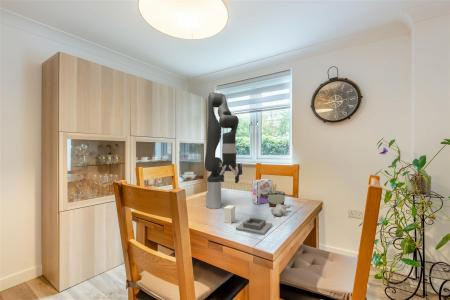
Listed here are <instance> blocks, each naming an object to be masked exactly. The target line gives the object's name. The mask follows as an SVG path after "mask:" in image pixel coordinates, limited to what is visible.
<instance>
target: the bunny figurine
mask: <svg viewBox="0 0 450 300" xmlns="http://www.w3.org/2000/svg"><path fill="white" fill-rule="evenodd" d="M290 208H291V206H290V204H287V205H285V204H284V205H281V204H277V205H276V207H274V208H270V212H271V213H272V215H273V216H275V217H282V215H283V216H284V215H287V214H288V210H287V209H290Z"/></svg>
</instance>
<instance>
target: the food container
mask: <svg viewBox="0 0 450 300" xmlns="http://www.w3.org/2000/svg"><path fill="white" fill-rule="evenodd" d="M267 195H268V201H269V203H268V207H269V208H270V209H271V208H274V207H276V205H277V204H281V205H285V198H286V196H287V195H286V192H285V191H281V190H272V191H269V192H268V193H267Z"/></svg>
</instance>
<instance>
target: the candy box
mask: <svg viewBox="0 0 450 300" xmlns="http://www.w3.org/2000/svg"><path fill="white" fill-rule="evenodd" d="M269 191H273V179H269V178H262V179H253V180H252V203H253V204H254V205H257V206H258V205H264V204H269V201H268V195H267V193H268V192H269Z"/></svg>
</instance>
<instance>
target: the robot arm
mask: <svg viewBox="0 0 450 300" xmlns="http://www.w3.org/2000/svg"><path fill="white" fill-rule="evenodd" d="M207 97H208V98H207V130H206V131H207V132H206V135H207V136H206V138H207V139H206V150H205V152H206V153H205V158H204V167H205V170H206V172H209V173H210V174H209V175H208V176H207V178H206V179H207V180H206V181H207V183H206V184H207V185H206V186H207V191H206V193H205V196H206V197H205V199H206V200H205V201H206V204H205V205H206V208H208V209H210V210H211V209H212V210H215V209H220V208H222V183H224V182H225V172H232V173H233V174H234V175H235V177H234V183H235V184H238V183H239V182H240V176H241V175H243V163H241V162H240V163H237V147H236V135H237V130H238V127H239V117H238V116H237V115H236V114H235V115H234V114H232V112H231V110H230V109H229V107H228V101H227V97H226V96H225V94H224V93H220V92H210V93H208V96H207ZM214 108H216V109H217V114H218V115H217V116H218V117H219V118H217V116H216V114H215V109H214ZM222 129H230V131H228V132H225V133H223V134H222ZM221 139H222V140H221ZM221 141H222V144H221V145H222V147H221V158H220V157H217V156H216V152H217V148H218V145H219V144H220V142H221Z"/></svg>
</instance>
